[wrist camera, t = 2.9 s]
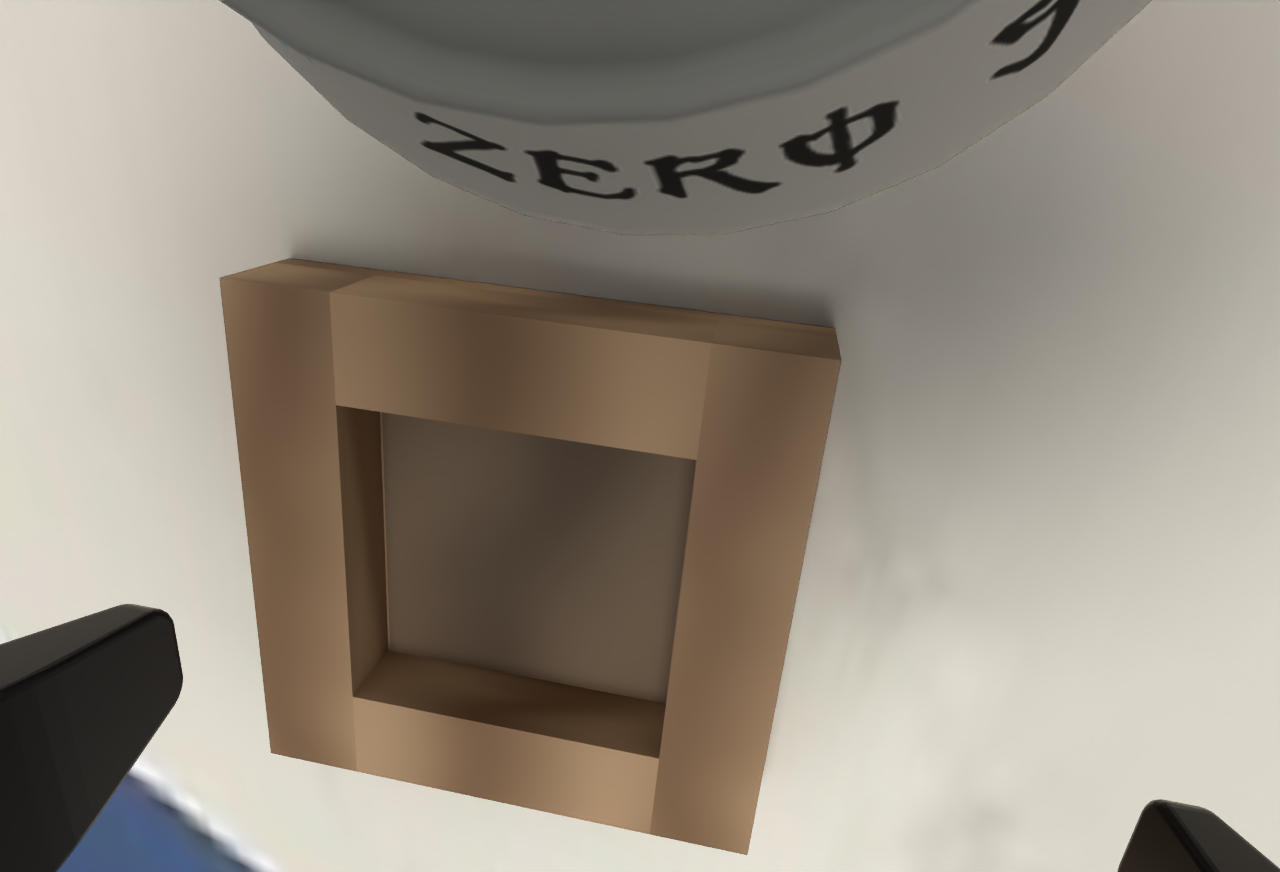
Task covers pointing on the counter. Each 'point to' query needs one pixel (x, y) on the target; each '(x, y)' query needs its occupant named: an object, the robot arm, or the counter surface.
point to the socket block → (525, 536)
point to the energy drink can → (682, 95)
